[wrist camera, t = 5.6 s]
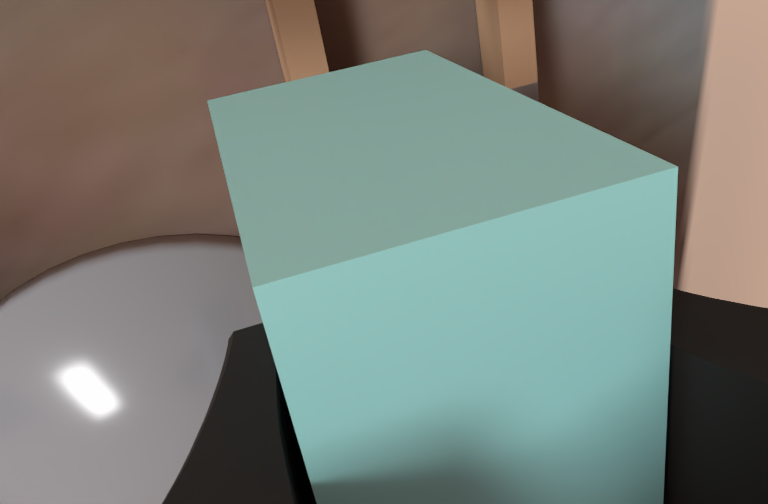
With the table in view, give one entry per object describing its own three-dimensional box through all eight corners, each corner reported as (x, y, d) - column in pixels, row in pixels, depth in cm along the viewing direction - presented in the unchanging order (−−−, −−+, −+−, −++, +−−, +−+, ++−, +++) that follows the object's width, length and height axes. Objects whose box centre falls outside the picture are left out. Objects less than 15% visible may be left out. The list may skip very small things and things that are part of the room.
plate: (496, 327, 24) (510, 345, 23) (299, 638, 28) (304, 665, 27) (22, 146, 17) (13, 160, 16) (-149, 592, 21) (-165, 626, 20)
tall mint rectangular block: (207, 100, 12) (253, 287, 6) (425, 50, 12) (678, 167, 6) (306, 444, 15) (399, 782, 9) (470, 390, 16) (655, 671, 10)
